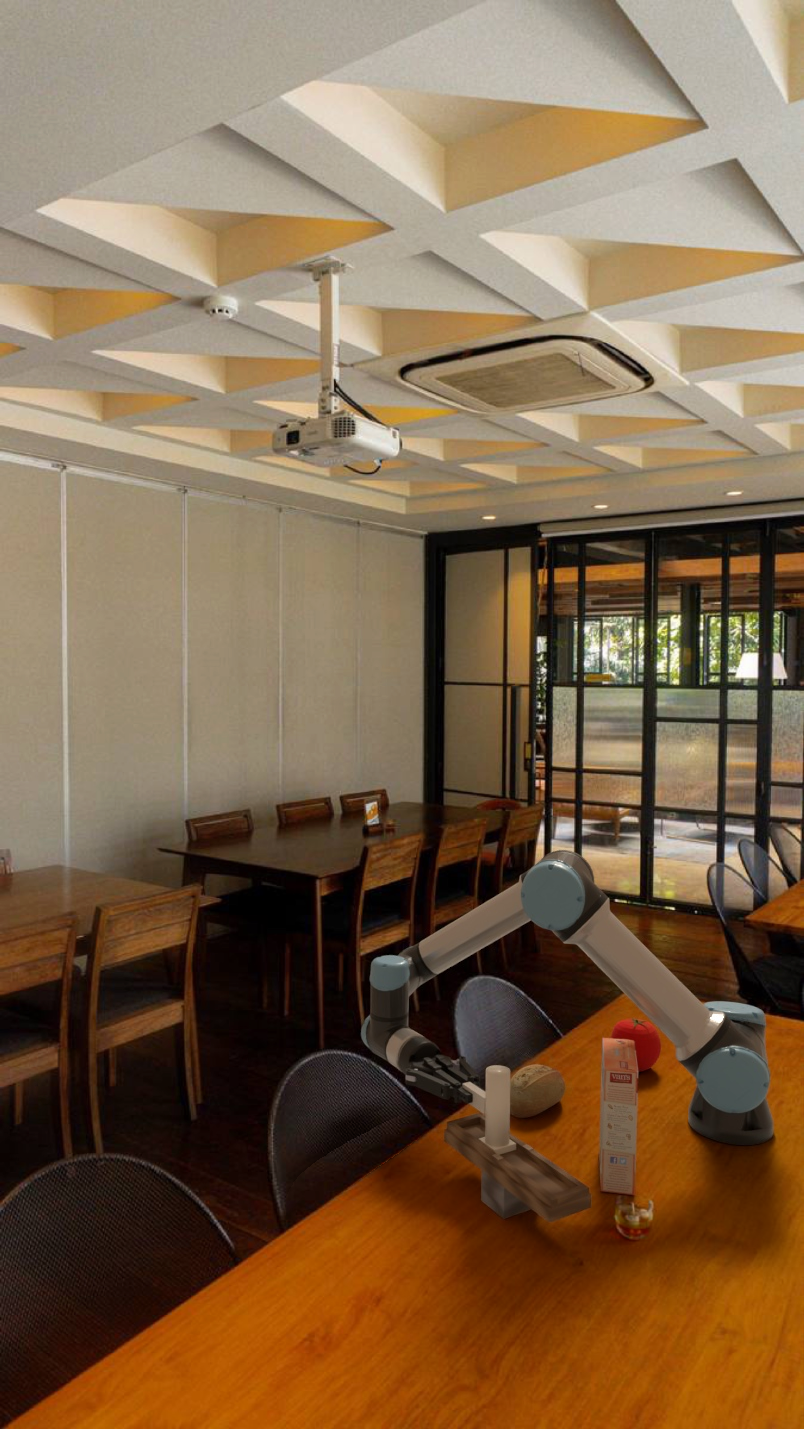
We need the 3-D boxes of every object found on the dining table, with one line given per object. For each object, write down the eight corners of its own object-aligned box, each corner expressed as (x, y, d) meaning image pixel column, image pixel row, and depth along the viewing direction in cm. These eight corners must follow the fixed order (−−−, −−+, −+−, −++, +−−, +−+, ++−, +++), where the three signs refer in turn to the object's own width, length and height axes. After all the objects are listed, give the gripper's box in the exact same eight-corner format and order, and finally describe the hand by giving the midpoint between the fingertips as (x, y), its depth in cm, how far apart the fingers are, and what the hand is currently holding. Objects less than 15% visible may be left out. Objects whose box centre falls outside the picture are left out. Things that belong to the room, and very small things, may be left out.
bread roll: (577, 1102, 188) (578, 1063, 187) (535, 1129, 177) (536, 1087, 176) (537, 1088, 194) (537, 1050, 194) (494, 1113, 183) (494, 1072, 183)
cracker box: (637, 1197, 153) (639, 1070, 152) (599, 1193, 154) (601, 1067, 154) (633, 1155, 167) (635, 1038, 166) (598, 1151, 168) (600, 1035, 167)
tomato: (598, 1066, 205) (599, 1017, 205) (630, 1054, 212) (631, 1007, 211) (637, 1083, 197) (638, 1032, 196) (669, 1070, 203) (670, 1021, 203)
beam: (590, 1240, 141) (591, 1185, 141) (548, 1256, 137) (549, 1200, 137) (482, 1157, 165) (482, 1111, 165) (443, 1169, 161) (444, 1121, 161)
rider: (516, 1149, 154) (517, 1072, 154) (494, 1156, 152) (495, 1078, 151) (500, 1138, 158) (500, 1062, 157) (478, 1144, 156) (479, 1068, 155)
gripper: (443, 1068, 180) (519, 1118, 160) (384, 1082, 174) (455, 1136, 153) (444, 1029, 180) (520, 1074, 160) (384, 1042, 173) (455, 1091, 153)
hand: (488, 1105), depth 156 cm, fingers closed
